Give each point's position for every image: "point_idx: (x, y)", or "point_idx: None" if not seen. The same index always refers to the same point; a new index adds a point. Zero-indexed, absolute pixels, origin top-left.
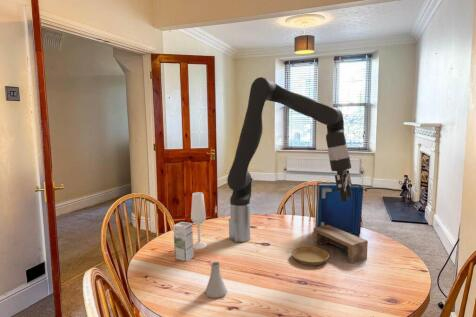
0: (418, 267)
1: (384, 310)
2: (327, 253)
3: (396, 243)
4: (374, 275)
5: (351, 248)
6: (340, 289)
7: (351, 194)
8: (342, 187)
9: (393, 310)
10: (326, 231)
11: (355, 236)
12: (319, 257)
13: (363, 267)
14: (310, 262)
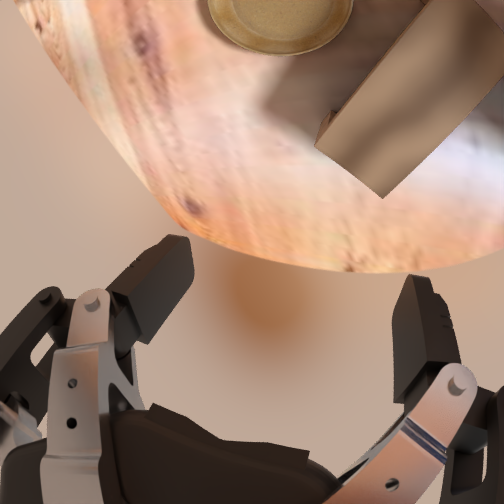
0: (363, 267)
1: (158, 197)
2: (317, 45)
3: (493, 251)
4: (275, 180)
5: (317, 137)
6: (165, 122)
7: (393, 331)
8: (53, 347)
9: (168, 208)
10: (434, 34)
11: (416, 159)
12: (309, 20)
13: (310, 154)
14: (215, 19)
